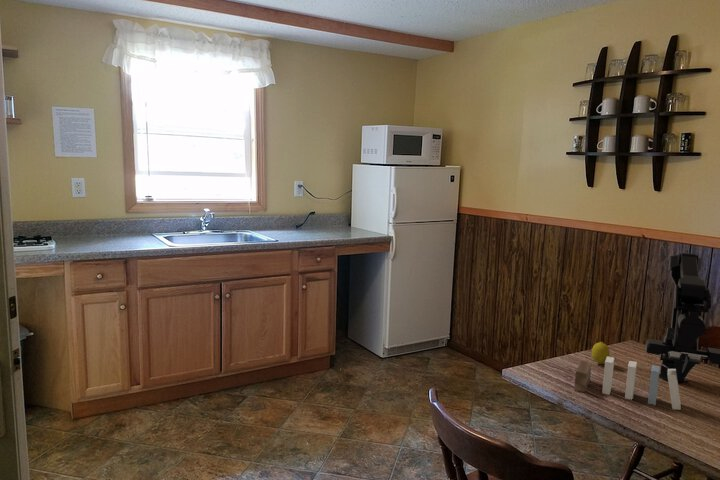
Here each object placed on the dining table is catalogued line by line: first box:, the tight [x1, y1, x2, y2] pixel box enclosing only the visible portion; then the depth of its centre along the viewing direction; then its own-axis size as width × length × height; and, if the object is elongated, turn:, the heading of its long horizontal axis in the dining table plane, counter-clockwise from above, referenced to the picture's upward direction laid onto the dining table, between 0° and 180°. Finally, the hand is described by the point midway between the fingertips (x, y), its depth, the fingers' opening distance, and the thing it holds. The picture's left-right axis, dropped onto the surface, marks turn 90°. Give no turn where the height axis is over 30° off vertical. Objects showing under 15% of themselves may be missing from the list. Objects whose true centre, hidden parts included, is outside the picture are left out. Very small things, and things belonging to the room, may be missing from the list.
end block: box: [573, 360, 592, 393], centre depth 159 cm, size 3×10×6 cm, turn 148°
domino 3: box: [667, 369, 682, 411], centre depth 146 cm, size 2×5×10 cm, turn 148°
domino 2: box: [624, 360, 638, 401], centre depth 152 cm, size 2×5×10 cm, turn 148°
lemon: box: [591, 341, 611, 365], centre depth 176 cm, size 6×6×8 cm
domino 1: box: [601, 356, 615, 396], centre depth 155 cm, size 2×5×10 cm, turn 148°
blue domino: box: [647, 364, 661, 406], centre depth 149 cm, size 2×5×10 cm, turn 149°
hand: (681, 380), depth 145 cm, fingers closed
